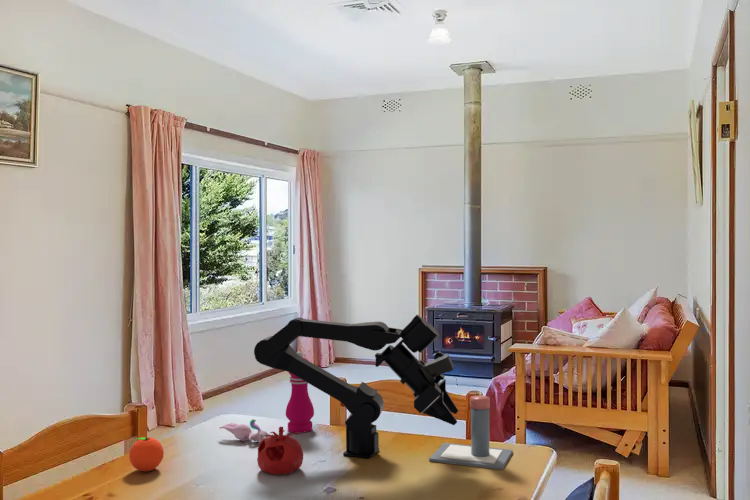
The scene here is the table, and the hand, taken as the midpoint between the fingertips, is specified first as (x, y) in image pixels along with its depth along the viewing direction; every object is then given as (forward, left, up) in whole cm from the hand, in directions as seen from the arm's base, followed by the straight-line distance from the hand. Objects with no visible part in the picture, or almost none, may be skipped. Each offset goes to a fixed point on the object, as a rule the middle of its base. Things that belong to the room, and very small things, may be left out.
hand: (456, 417), depth 151 cm
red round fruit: (-33, -21, -9) cm, 40 cm away
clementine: (-60, -31, -9) cm, 68 cm away
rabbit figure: (-50, -6, -9) cm, 52 cm away
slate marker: (+5, +1, -8) cm, 9 cm away
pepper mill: (-43, +7, -9) cm, 44 cm away
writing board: (+3, +1, -9) cm, 9 cm away
